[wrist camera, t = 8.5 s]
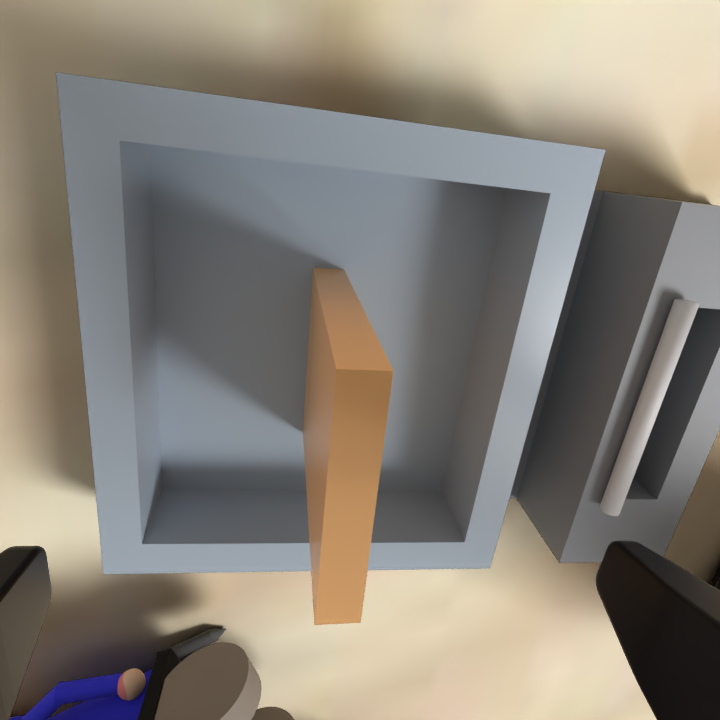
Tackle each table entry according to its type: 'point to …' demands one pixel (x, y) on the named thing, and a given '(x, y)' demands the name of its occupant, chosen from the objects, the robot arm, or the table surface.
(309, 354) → the tan wooden block
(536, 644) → the table surface
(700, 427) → the dispenser
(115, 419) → the tray
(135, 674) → the figurine character
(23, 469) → the table surface
